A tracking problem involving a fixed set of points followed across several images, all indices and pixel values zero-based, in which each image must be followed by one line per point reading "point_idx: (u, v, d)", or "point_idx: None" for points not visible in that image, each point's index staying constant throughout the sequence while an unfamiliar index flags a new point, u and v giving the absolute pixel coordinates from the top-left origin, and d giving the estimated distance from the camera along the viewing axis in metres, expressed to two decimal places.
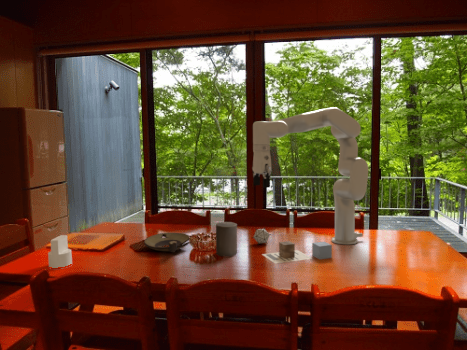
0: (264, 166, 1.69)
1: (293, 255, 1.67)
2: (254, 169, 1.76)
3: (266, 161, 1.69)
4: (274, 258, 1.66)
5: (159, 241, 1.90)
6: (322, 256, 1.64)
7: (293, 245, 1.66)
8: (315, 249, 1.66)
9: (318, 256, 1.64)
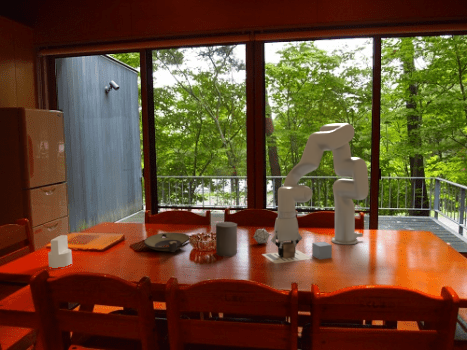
0: None
1: (293, 255, 1.67)
2: (282, 237, 1.65)
3: None
4: (274, 258, 1.66)
5: (159, 241, 1.90)
6: (322, 256, 1.64)
7: (293, 245, 1.66)
8: (315, 249, 1.66)
9: (318, 256, 1.64)
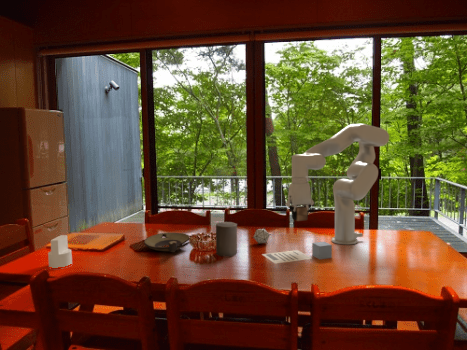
0: None
1: (306, 218, 1.79)
2: (296, 201, 1.77)
3: None
4: (274, 258, 1.66)
5: (159, 241, 1.90)
6: (322, 256, 1.64)
7: (306, 208, 1.78)
8: (315, 249, 1.66)
9: (318, 256, 1.64)
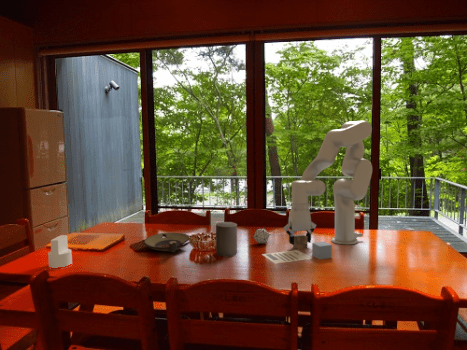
0: None
1: (306, 247, 1.80)
2: (296, 228, 1.78)
3: None
4: (274, 258, 1.66)
5: (159, 241, 1.90)
6: (322, 256, 1.64)
7: (306, 238, 1.80)
8: (315, 249, 1.66)
9: (318, 256, 1.64)
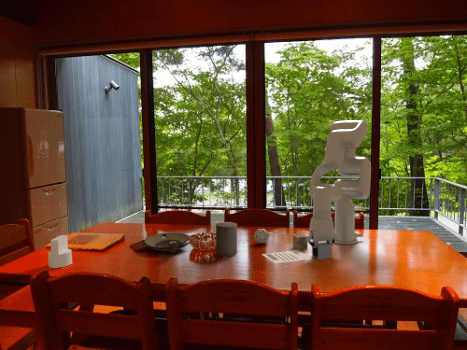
0: None
1: (306, 247, 1.80)
2: (318, 237, 1.64)
3: None
4: (274, 258, 1.66)
5: (159, 241, 1.90)
6: (322, 256, 1.64)
7: None
8: None
9: (318, 256, 1.64)
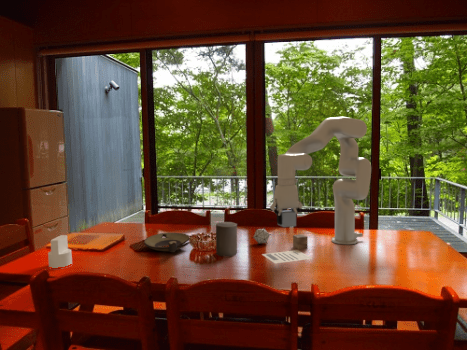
0: None
1: (306, 247, 1.80)
2: (282, 205, 1.64)
3: None
4: (274, 258, 1.66)
5: (159, 241, 1.90)
6: (286, 223, 1.64)
7: (306, 238, 1.80)
8: None
9: (282, 223, 1.64)
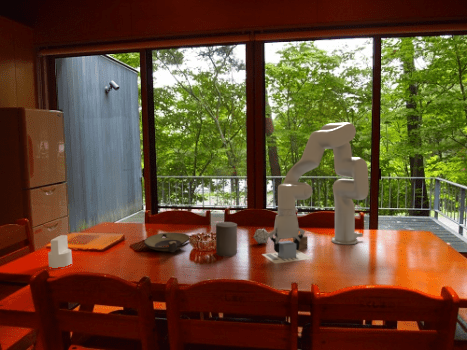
0: None
1: (306, 247, 1.80)
2: (282, 235, 1.65)
3: None
4: (274, 258, 1.66)
5: (159, 241, 1.90)
6: (286, 255, 1.65)
7: (306, 238, 1.80)
8: (280, 248, 1.67)
9: (283, 255, 1.65)
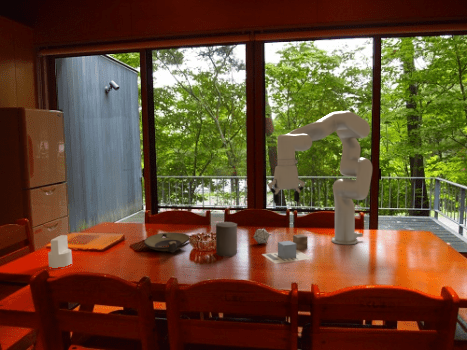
0: None
1: (306, 247, 1.80)
2: (282, 185, 1.63)
3: None
4: (274, 258, 1.66)
5: (159, 241, 1.90)
6: (286, 255, 1.65)
7: (306, 238, 1.80)
8: (280, 248, 1.67)
9: (283, 255, 1.65)
